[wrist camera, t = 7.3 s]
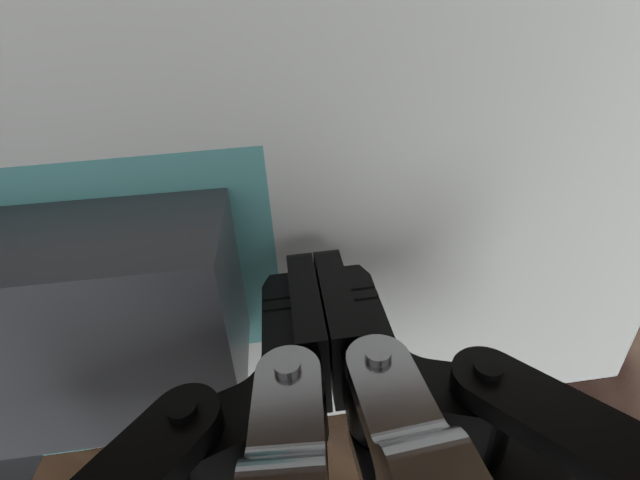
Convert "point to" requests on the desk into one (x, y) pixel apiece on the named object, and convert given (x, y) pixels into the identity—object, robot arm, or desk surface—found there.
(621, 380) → the desk surface
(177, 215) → the t block
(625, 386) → the desk surface
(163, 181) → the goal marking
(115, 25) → the runner mat
